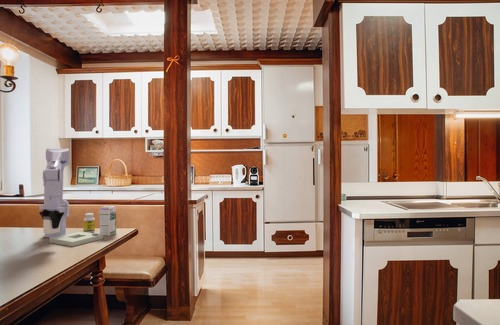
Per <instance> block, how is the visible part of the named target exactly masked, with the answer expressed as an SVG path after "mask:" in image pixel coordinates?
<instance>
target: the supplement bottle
mask: <svg viewBox="0 0 500 325" xmlns="http://www.w3.org/2000/svg"><path fill="white" fill-rule="evenodd" d="M94 215H95V214H94V213H93V212H88V213H85V214H84V216H85V217H84V218H83V227H82V228H83V231H82V232H89V233H95V228H96V217H94Z"/></svg>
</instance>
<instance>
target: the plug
mask: <svg viewBox="0 0 500 325" xmlns="http://www.w3.org/2000/svg"><path fill="white" fill-rule="evenodd" d="M43 219H44V221H43V222H42V224H43V228H42V229H43V232H42V233H44V234H45V233H48V234H52V233H57V232H60V223H59V227H58V228H56V229H53V228H52V221H51V217H50V216H43V218H42V220H43Z"/></svg>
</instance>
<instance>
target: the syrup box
mask: <svg viewBox="0 0 500 325" xmlns="http://www.w3.org/2000/svg"><path fill="white" fill-rule="evenodd" d="M99 234H102V235H103V236H111V235H114V234H117V205H105V206H100V207H99Z"/></svg>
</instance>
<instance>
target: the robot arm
mask: <svg viewBox="0 0 500 325" xmlns="http://www.w3.org/2000/svg"><path fill="white" fill-rule="evenodd" d="M45 160H46V167H45V170H43V171H42V181H43V187H44V188H43V192H44V193H43V205H42V204H41V205H39V215H40V216H41V218H42V220H43V222H44V219H43V216H50V217H51V221H52V228H53V229H56V228H58V227H59V223H60V232H57V233H52V234H48V233H44V234H43V235H42V236H43V238H49V239H50V238H52V237H57V236H61V235H66V234H67V225H66V224H67V218H69V216H70V203H69V202H68V200H66V199H65V198H64V170H65V168H66V167H67V166H69V164H70V149H69V148H49V147H48V148H46V150H45Z"/></svg>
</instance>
